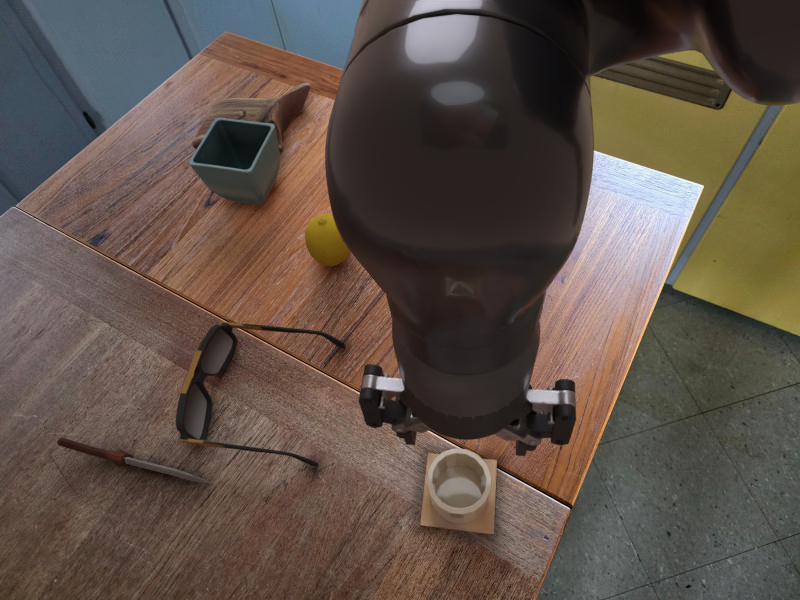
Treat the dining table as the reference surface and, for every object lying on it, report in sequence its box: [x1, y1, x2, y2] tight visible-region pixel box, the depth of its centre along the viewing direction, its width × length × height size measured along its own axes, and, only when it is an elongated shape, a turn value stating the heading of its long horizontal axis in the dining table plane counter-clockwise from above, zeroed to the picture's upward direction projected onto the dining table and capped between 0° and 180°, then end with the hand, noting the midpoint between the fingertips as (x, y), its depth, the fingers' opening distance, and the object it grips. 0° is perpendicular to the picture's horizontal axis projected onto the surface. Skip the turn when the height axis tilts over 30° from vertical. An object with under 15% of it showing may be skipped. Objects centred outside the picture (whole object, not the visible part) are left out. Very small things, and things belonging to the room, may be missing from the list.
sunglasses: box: [175, 321, 346, 468], centre depth 60 cm, size 14×15×5 cm
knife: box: [56, 437, 216, 485], centre depth 58 cm, size 18×2×3 cm, turn 76°
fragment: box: [191, 82, 312, 154], centre depth 84 cm, size 13×16×5 cm
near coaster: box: [419, 452, 498, 536], centre depth 54 cm, size 7×7×1 cm
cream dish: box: [427, 447, 492, 524], centre depth 52 cm, size 6×6×5 cm
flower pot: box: [188, 118, 281, 206], centre depth 75 cm, size 9×9×9 cm
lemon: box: [304, 213, 351, 267], centre depth 67 cm, size 6×6×8 cm
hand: (465, 438), depth 44 cm, fingers open, 8 cm apart
